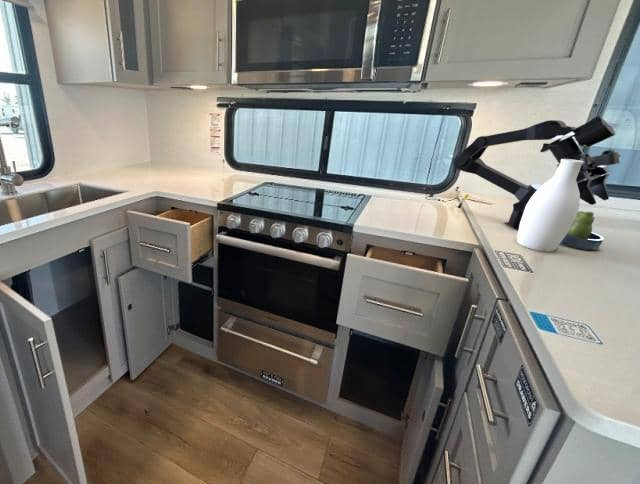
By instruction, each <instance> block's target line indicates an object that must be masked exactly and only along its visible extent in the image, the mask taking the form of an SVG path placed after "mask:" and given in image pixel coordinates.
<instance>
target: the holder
mask: <svg viewBox="0 0 640 484" xmlns="http://www.w3.org/2000/svg"><path fill="white" fill-rule="evenodd" d="M604 240H605V238H604V237H603V236H602V235H600V234H598V233H595V232H593V231H592V232H591V234H590V236H589V237H588V238H587V239H585V238H579V237H575V236H571V235H568V234H566V236H565V237H564V238H563V240H562V241H561V243H560V244H559V245H563V246H564V247H569V248H573V249H578V250H582V251H583V250H585V251H593V250H594V251H595V250H599V249H600V247H601V246H602V244H603V242H604Z"/></svg>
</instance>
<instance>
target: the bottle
mask: <svg viewBox="0 0 640 484" xmlns="http://www.w3.org/2000/svg"><path fill="white" fill-rule="evenodd" d="M583 163H584V162H583V161H579V160H572V159H561V163H560V165H559V167H558V166H557V169H556V171H555V173H554V175H553V176H552V177H551V178H550V179H548V180H547V181H546V182H544V183H543V184H542V185H541V187H540V188H539V189H538V190H537V191H536V192H535V193H534V194H533V196H532V197H531V198H530V200H529V202H528V203H527V205H526V207H525V210H524V213H523V216H522V219H521V222H520V226H519V230H517V236H516V241H517V243H518V244H519V245H521V246H522V247H526V248H527V249H531V250H534V251H539V252H548V253H550V252H554V251H555V250H557V249H558V247H559V246H560V245H561V244H560V243H561V241H562V240H563V238H564V237H565V236H566V234H567V233H568V231H569V229H570V227H571V225H572V224H573V222H574V220H575V218H576V216H577V213H578V211H579V210H580V209H579V208H580V204H581V203H580V202H581V201H580V200H581V199H580V193H579V189H578V185H577V182H576V178H577V176H578V173H579V170H580V168H581V165H582V164H583Z"/></svg>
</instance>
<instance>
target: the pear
mask: <svg viewBox="0 0 640 484" xmlns="http://www.w3.org/2000/svg"><path fill="white" fill-rule="evenodd" d="M594 215H595V213H594V212H593V211H580V210H578V213H577V216H576V218H575V220H574V222H573V224H572V225H571V227H570V229H569V231H568V233H567V234H568V235H571V236H575V237H579V238H585V239H587V238H588V237H589V236H590V234H591V232H592V233H593V223H594V221H595V216H594Z"/></svg>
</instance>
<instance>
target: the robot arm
mask: <svg viewBox="0 0 640 484" xmlns="http://www.w3.org/2000/svg"><path fill="white" fill-rule="evenodd" d="M563 136H568V137H566V138H564V139H563V138H562V137H563ZM614 136H616V131H615V130H614V128H613V127H612V125H611V124H609V123H608V122H607V121H606V120H605V119H604V118H603V117H602V116H599V115H598V116H596V117H593V118H591V119H590V120H589V121H587V122H585V123H583V124H581V125H579V126H578V127H576V126H569V125H567V124H566V123H565V122H564V121H562V120H559V119H558V120H557V119H556V120H554V119H553V120H552V119H551V120H545V121H542V122H539V123H536V124H534V125H531V126H527V127H525V128H522V129H517V130H511V131H505V132H500V133H496V134H490V135H489V134H488V135H480V136H478V137H476V138H475V139H474V141H473V142H472V143H470V144H469V145H468V146H467V147H466V148H465V149H464V150H462V152H461V153H460V154H457V155H456V156H455V157H454V158H453V161H452V165H453V168H454V169H455V170H458V171H461V172H465V173H468V174H472V175H476V176H478V177H480V178H482V179H483V180H485V181H487V182H489V183H491V184H493V185H495V186H496V187H499V188H500V189H502V190H504V191H505V192H508V193H509V194H512V195H514V197H515V198H516V199H517V200H518V201H517V202H515V203H513V204H512V212H511V214H510V216H509V219H508V221H504V224H505V225H507V227H510V228H512V229H513V230H516V231H519V226H520V222H521V219H522V216H523V213H524V210H525V207H526V205H527V203H528V202H529V200H530V198H531V197H532V196H533V194H534V193H535V192H536V191H537V190H538V189H539V188H540V187H541V186H542V185H541V184H539V183H537V182H536V183H532V184H529V185H528V184H525V183H523V182H521V181H519V180H517V179H514V178H513V177H511V176H509V175H507V174H505V173H503V172H501V171H499V170H497V169H495V168H493V167H491V166H489V165H487V164H486V163H485V162H484V161H483V159H482V158H481V157H482V156H483V155H484V153H485V152H486V150H487V148H489V147H494V146H499V145H504V144H511V143H517V142H518V143H519V142H523V141H547V140H549V141H551V140H554V141H552V142H550V143H549V142H548V143H547V142H546V143H545V142H544V143H543V144H542V147H541V149H540V150H539V151H540V153H547V152H549V151H550V152H551V154H552V156H553V157H554V159H555V160H556V162H557V163H558V164H556V166H557V168H558V167H559V165H560V163H561V159H572V160H579V161H583V162H584V163H583V164H582V165H581V168H580V170H579V173H578V176H577V178H576V182H577V185H578V189H579V193H580V200H581V201H584V202H585V203H587V204H589V205H590V206H593V205H596V204H597V200H596V198H595V196H597V197H598V198H600V199H601V200H603V201H608V200H609V199H610V196H609V192H608V187H607V184H606V181H607V179H608V178H609V176H610V174H611V170H610V168H609V167H608V166H611V165H616V164H620V158H621V154H620V153H619V151H615V150H613V149H608V150H603V151H602V153H601V154H599V155H593V156H591V155H590V154H589V153H586V152H585V153H584V151H583V150H582V149H581V148H580V147H584V146H586V147H588V148H591V147H593V146H595V145H597V144H600V143H601V142H603V141H604V142H605V141H606V140H608V139H610V138H612V137H614Z"/></svg>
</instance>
